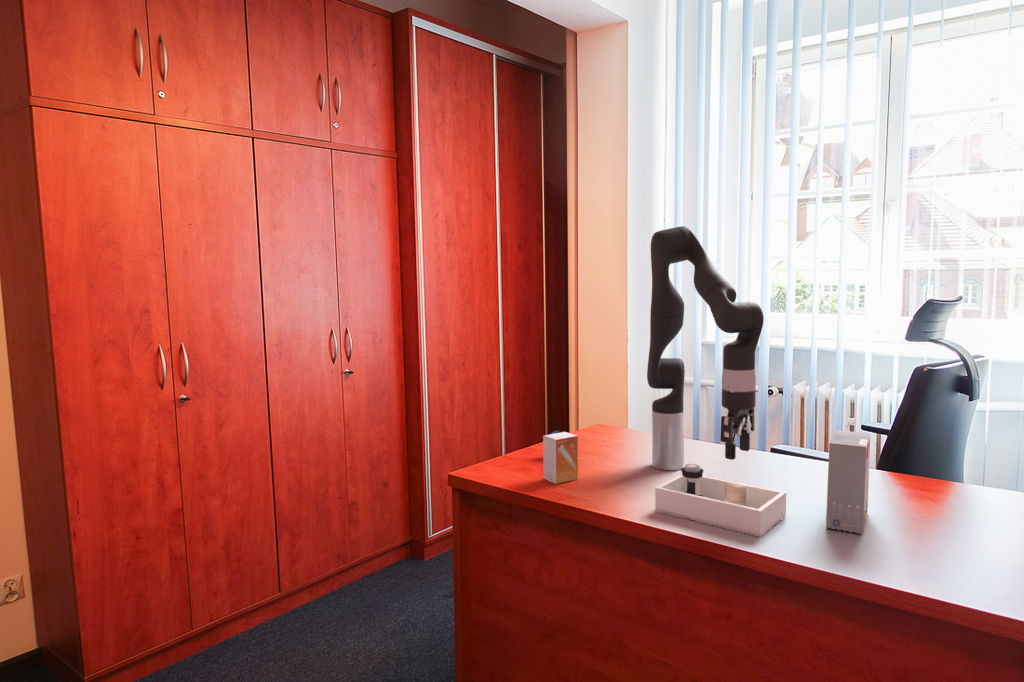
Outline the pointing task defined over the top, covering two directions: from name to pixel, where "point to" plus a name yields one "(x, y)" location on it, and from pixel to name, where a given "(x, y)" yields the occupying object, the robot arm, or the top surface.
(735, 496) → the maple cylinder
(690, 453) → the top surface
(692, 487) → the push button
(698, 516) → the tote
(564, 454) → the small box
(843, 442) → the hard drive box
